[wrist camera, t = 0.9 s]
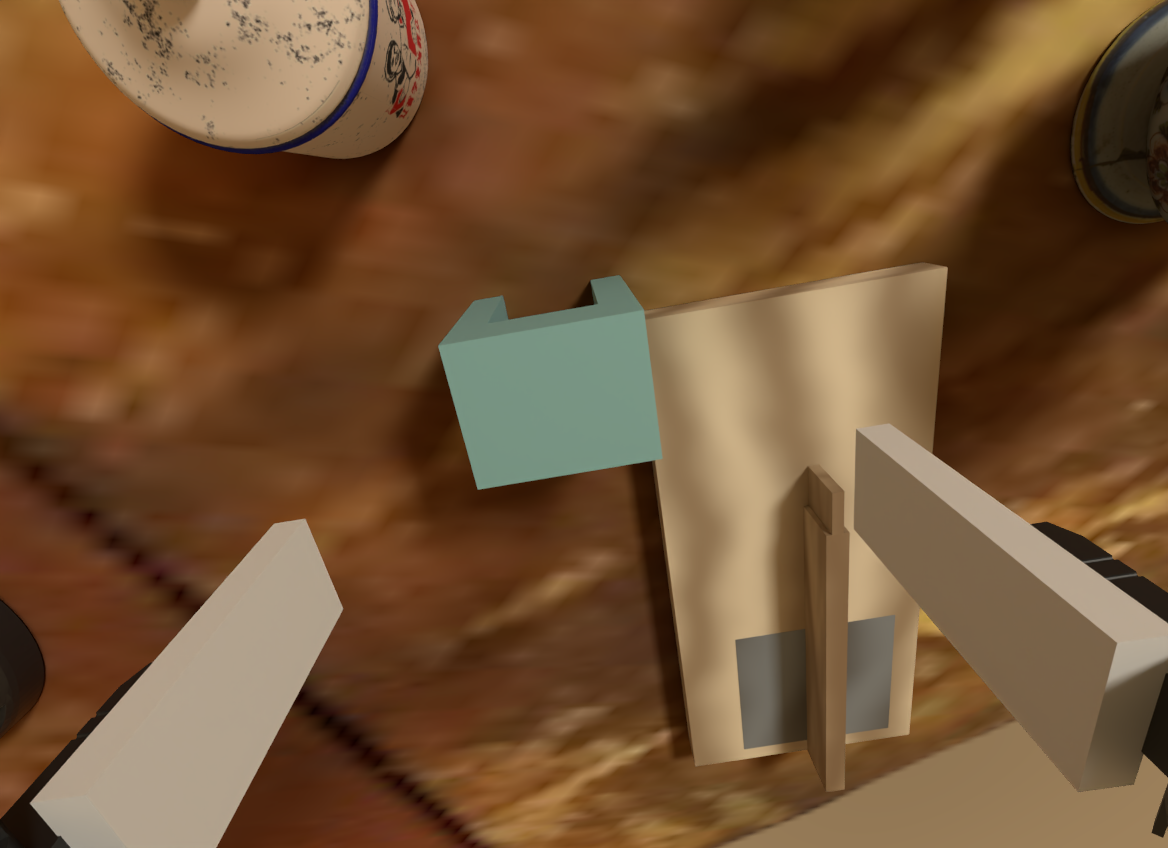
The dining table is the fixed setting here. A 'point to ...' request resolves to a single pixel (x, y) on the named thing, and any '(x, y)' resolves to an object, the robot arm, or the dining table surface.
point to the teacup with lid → (264, 69)
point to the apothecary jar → (1126, 125)
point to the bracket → (553, 388)
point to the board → (789, 508)
